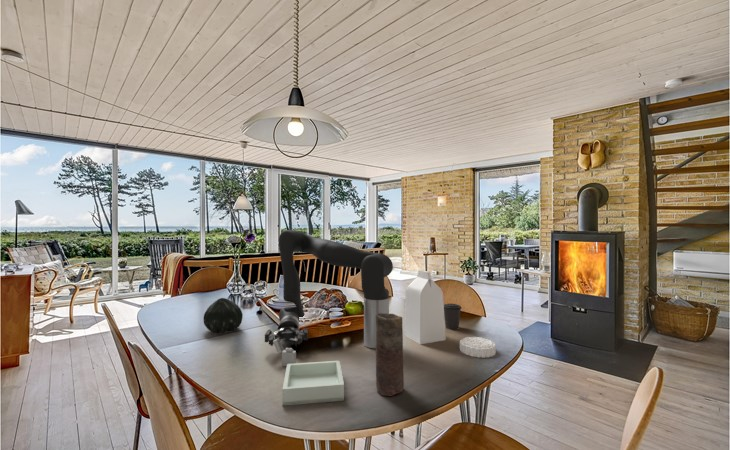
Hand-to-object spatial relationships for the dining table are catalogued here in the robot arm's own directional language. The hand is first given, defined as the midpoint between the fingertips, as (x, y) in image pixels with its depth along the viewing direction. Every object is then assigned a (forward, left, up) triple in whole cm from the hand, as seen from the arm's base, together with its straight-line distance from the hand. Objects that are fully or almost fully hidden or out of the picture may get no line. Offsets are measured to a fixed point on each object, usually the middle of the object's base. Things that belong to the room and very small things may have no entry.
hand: (285, 342), depth 108 cm
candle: (-29, +24, -6) cm, 38 cm away
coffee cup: (-68, -25, -6) cm, 73 cm away
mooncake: (-66, +2, -7) cm, 66 cm away
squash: (+28, -36, -6) cm, 46 cm away
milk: (-52, -15, -6) cm, 55 cm away
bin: (-9, +20, -6) cm, 23 cm away
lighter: (0, +3, -6) cm, 7 cm away
